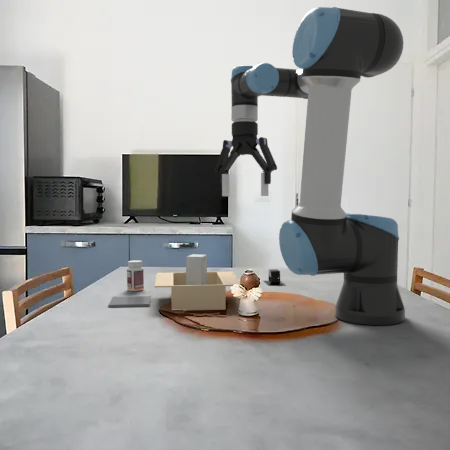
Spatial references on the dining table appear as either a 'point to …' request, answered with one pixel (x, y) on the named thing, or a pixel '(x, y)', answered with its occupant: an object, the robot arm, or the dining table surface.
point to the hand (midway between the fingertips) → (244, 196)
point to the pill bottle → (135, 276)
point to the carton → (197, 290)
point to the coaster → (130, 301)
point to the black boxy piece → (274, 278)
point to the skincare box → (196, 269)
